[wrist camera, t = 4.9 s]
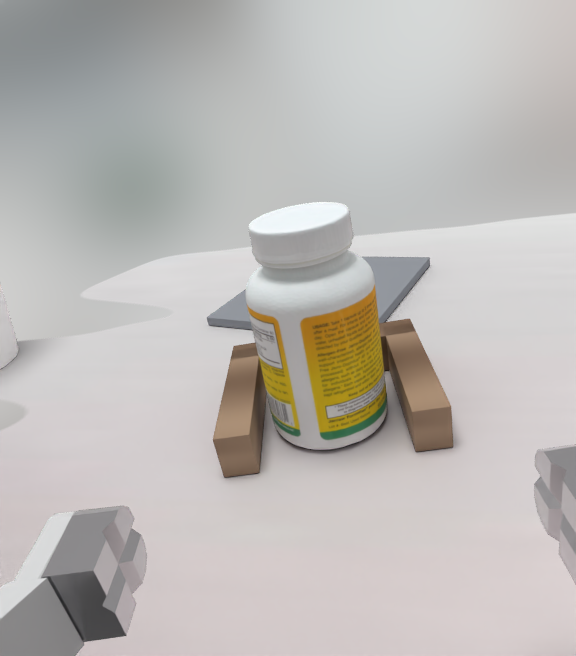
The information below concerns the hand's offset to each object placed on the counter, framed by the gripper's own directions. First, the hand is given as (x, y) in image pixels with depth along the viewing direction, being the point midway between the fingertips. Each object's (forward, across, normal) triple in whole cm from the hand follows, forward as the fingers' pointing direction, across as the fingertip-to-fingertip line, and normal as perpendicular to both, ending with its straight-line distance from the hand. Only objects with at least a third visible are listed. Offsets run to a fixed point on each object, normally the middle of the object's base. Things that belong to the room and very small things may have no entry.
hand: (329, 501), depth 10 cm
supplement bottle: (+12, 0, +7) cm, 14 cm away
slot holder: (+12, 0, +7) cm, 14 cm away
